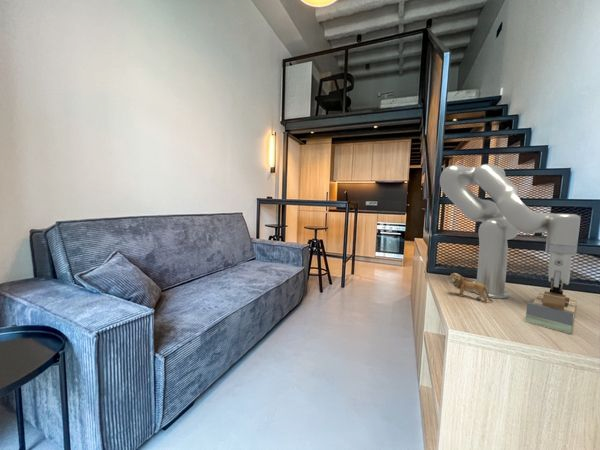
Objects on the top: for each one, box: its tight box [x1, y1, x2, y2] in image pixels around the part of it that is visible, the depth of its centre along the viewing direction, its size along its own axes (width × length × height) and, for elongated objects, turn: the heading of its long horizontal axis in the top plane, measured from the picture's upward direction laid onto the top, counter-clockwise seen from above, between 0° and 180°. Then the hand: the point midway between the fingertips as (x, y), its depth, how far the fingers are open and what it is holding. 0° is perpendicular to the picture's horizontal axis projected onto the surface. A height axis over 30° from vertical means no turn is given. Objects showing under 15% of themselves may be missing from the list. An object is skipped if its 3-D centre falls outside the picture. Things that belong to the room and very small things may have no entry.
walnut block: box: [542, 291, 567, 310], centre depth 86 cm, size 5×5×4 cm
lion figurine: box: [449, 272, 494, 304], centre depth 101 cm, size 15×5×9 cm, turn 52°
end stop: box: [525, 301, 575, 327], centre depth 78 cm, size 2×10×4 cm, turn 41°
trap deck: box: [524, 291, 577, 335], centre depth 89 cm, size 34×10×2 cm, turn 131°
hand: (555, 301), depth 90 cm, fingers closed
